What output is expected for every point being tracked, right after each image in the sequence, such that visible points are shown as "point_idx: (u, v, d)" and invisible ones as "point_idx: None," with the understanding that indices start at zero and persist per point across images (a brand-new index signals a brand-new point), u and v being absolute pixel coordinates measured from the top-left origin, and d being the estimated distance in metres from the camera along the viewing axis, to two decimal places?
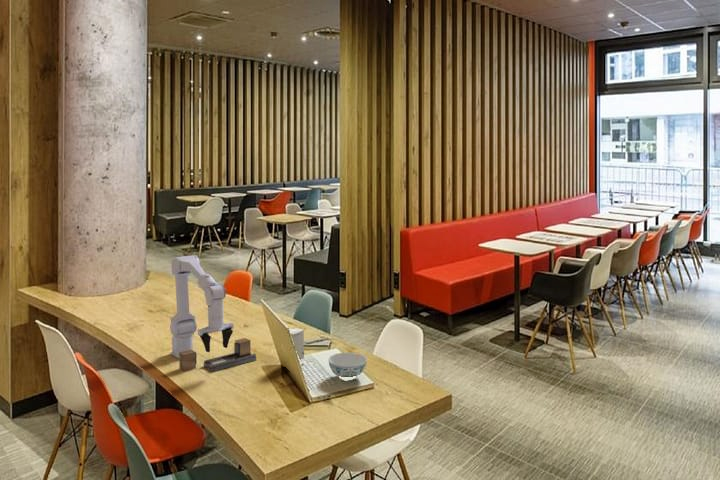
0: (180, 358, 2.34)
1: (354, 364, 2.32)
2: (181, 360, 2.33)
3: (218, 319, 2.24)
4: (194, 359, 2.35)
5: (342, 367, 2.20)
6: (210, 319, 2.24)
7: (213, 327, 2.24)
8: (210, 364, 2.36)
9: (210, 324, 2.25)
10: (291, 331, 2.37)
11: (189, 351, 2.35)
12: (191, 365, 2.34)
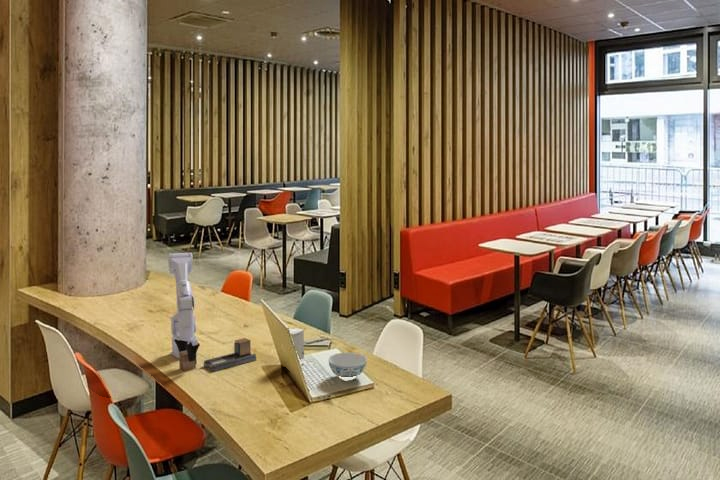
0: (180, 358, 2.34)
1: (354, 364, 2.32)
2: (181, 360, 2.33)
3: (179, 328, 2.31)
4: None
5: (342, 367, 2.20)
6: None
7: None
8: (210, 364, 2.36)
9: None
10: (291, 331, 2.37)
11: None
12: (191, 365, 2.34)
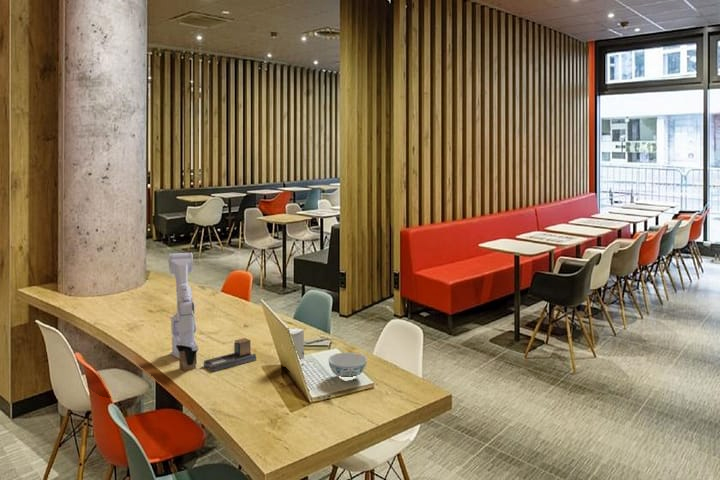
0: (180, 358, 2.34)
1: (354, 364, 2.32)
2: (181, 360, 2.33)
3: (179, 333, 2.32)
4: (194, 359, 2.35)
5: (342, 367, 2.20)
6: None
7: None
8: (210, 364, 2.36)
9: None
10: (291, 331, 2.37)
11: None
12: (191, 365, 2.34)
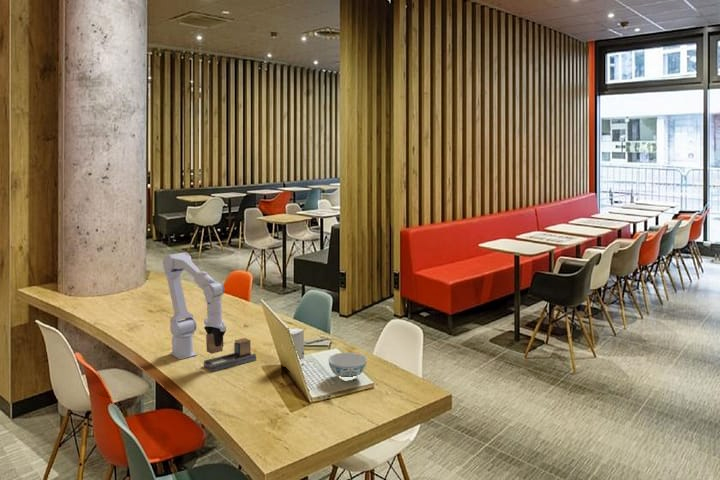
0: (207, 341, 2.35)
1: (354, 364, 2.32)
2: (208, 342, 2.35)
3: (207, 314, 2.33)
4: None
5: (342, 367, 2.20)
6: None
7: None
8: (210, 364, 2.36)
9: None
10: (291, 331, 2.37)
11: None
12: (218, 348, 2.35)
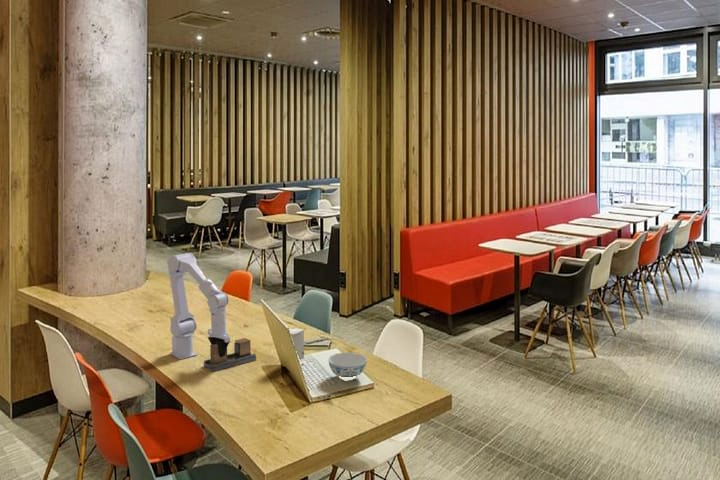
0: (211, 351, 2.36)
1: (354, 364, 2.32)
2: (212, 353, 2.36)
3: (211, 325, 2.34)
4: None
5: (342, 367, 2.20)
6: None
7: None
8: (210, 364, 2.36)
9: None
10: (291, 331, 2.37)
11: None
12: (222, 358, 2.37)
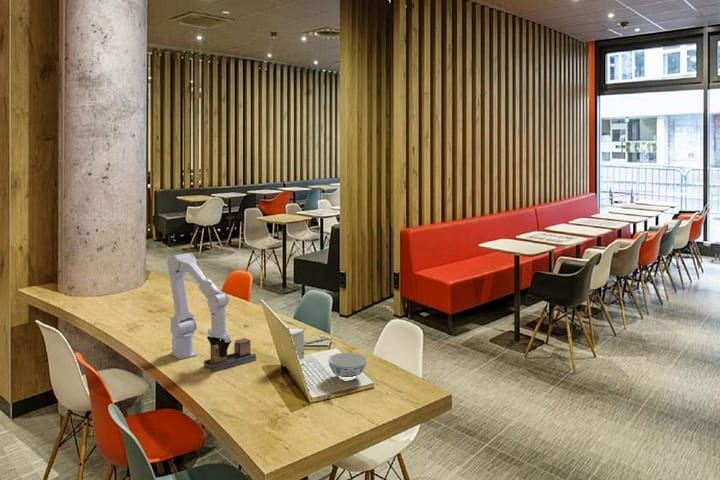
0: (211, 352, 2.36)
1: (354, 364, 2.32)
2: (212, 354, 2.36)
3: (211, 325, 2.34)
4: None
5: (342, 367, 2.20)
6: None
7: None
8: (210, 364, 2.36)
9: None
10: (291, 331, 2.37)
11: None
12: (222, 359, 2.37)
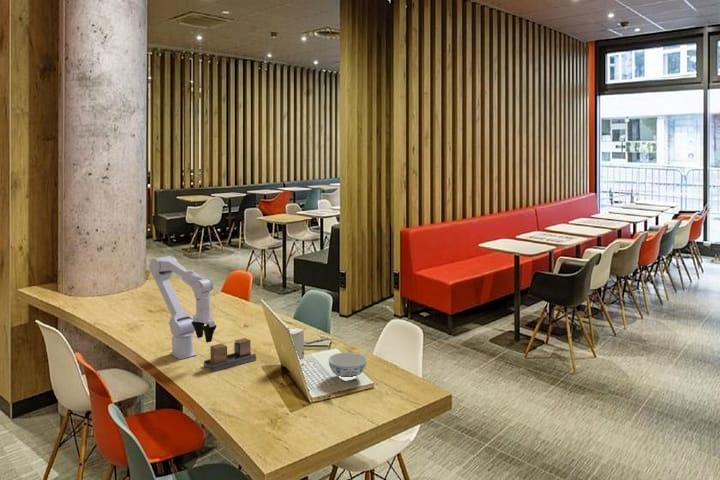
0: (211, 352, 2.36)
1: (354, 364, 2.32)
2: (212, 354, 2.36)
3: (196, 310, 2.39)
4: (225, 353, 2.37)
5: (342, 367, 2.20)
6: None
7: None
8: (210, 364, 2.36)
9: None
10: (291, 331, 2.37)
11: (220, 345, 2.37)
12: (222, 359, 2.37)
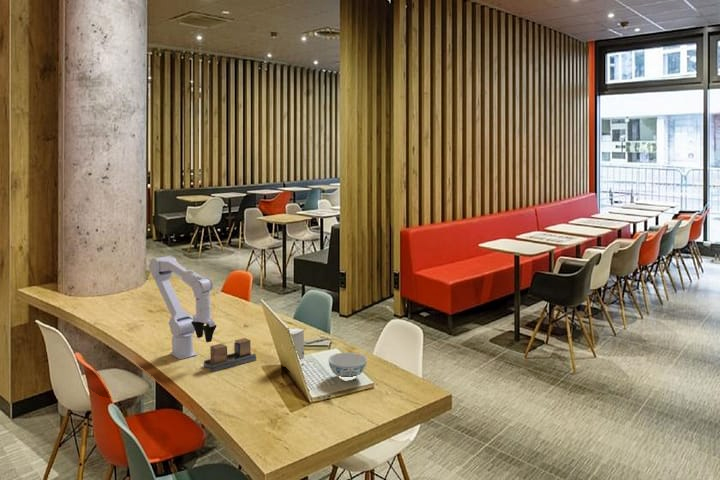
0: (211, 352, 2.36)
1: (354, 364, 2.32)
2: (212, 354, 2.36)
3: (196, 310, 2.39)
4: (225, 353, 2.37)
5: (342, 367, 2.20)
6: None
7: None
8: (210, 364, 2.36)
9: None
10: (291, 331, 2.37)
11: (220, 345, 2.37)
12: (222, 359, 2.37)
